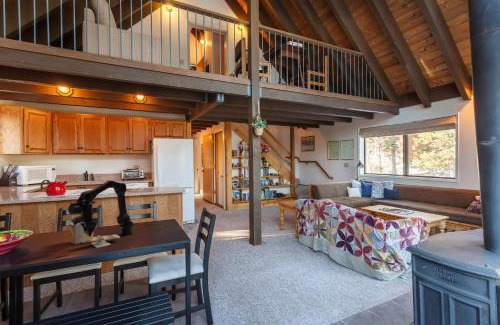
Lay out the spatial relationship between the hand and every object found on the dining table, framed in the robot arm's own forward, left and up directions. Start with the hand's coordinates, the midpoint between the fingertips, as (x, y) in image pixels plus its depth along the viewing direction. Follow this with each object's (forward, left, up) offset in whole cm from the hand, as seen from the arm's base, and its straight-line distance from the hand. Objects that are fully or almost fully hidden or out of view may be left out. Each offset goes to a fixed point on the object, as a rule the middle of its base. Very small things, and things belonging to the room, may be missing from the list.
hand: (87, 235), depth 162 cm
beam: (-7, 0, -3) cm, 8 cm away
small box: (+2, -18, -8) cm, 20 cm away
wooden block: (0, 0, -2) cm, 3 cm away
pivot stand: (-7, 0, -8) cm, 11 cm away
